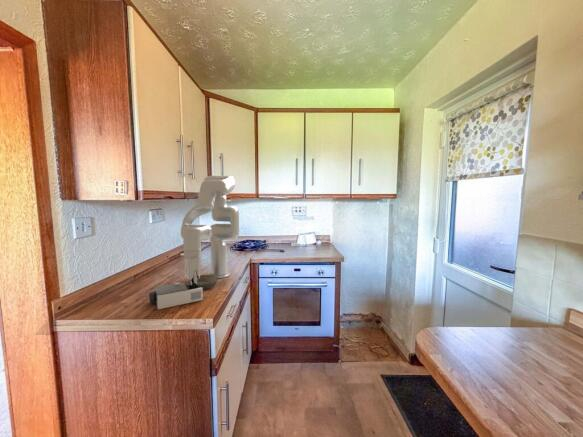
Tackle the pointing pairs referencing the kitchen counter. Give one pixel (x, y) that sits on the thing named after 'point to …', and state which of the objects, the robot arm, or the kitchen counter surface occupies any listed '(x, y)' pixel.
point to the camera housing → (166, 290)
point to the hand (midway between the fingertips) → (193, 292)
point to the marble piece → (204, 282)
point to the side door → (179, 298)
